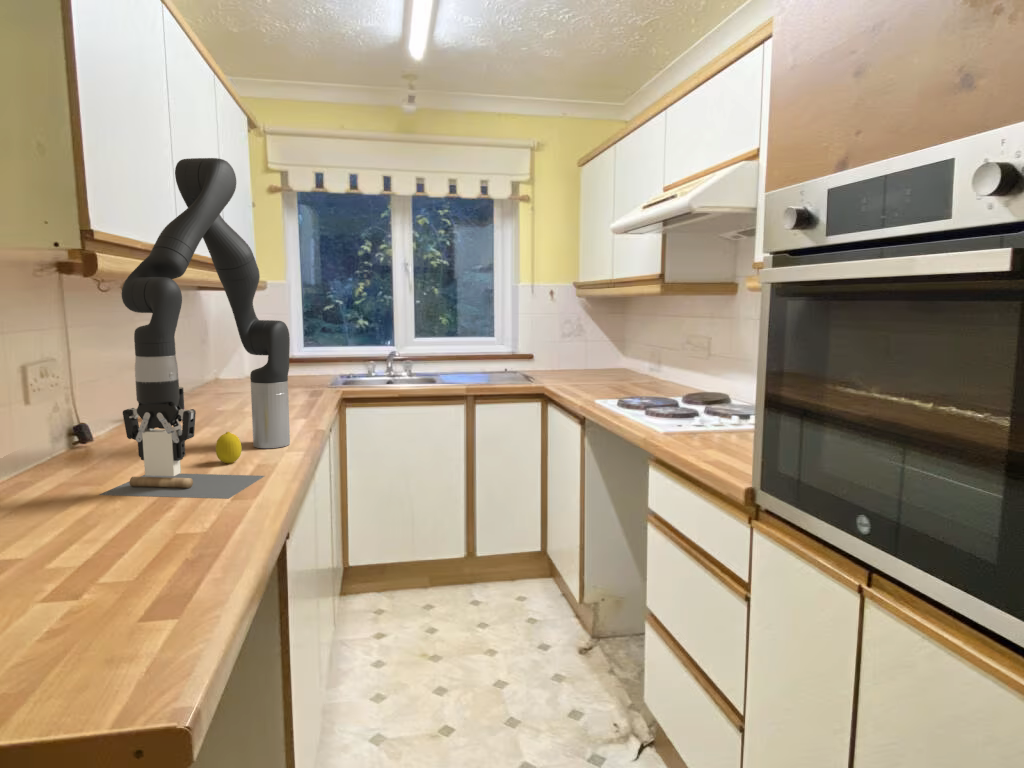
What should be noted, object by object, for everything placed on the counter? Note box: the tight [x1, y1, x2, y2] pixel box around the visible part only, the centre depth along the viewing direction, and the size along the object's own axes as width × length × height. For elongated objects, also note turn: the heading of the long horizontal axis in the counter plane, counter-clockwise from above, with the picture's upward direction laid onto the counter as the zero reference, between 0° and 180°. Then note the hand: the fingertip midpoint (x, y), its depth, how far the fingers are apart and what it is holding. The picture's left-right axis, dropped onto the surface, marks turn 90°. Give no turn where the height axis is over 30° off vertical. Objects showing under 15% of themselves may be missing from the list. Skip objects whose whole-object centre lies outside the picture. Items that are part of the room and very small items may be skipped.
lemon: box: [215, 431, 243, 465], centre depth 147 cm, size 6×6×8 cm
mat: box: [98, 473, 265, 500], centre depth 130 cm, size 16×26×1 cm, turn 87°
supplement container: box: [177, 386, 186, 422], centre depth 199 cm, size 7×7×10 cm
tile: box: [142, 428, 182, 476], centre depth 128 cm, size 2×6×9 cm, turn 87°
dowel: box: [129, 476, 193, 488], centre depth 128 cm, size 2×12×2 cm, turn 87°
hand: (162, 459), depth 128 cm, fingers open, 6 cm apart
